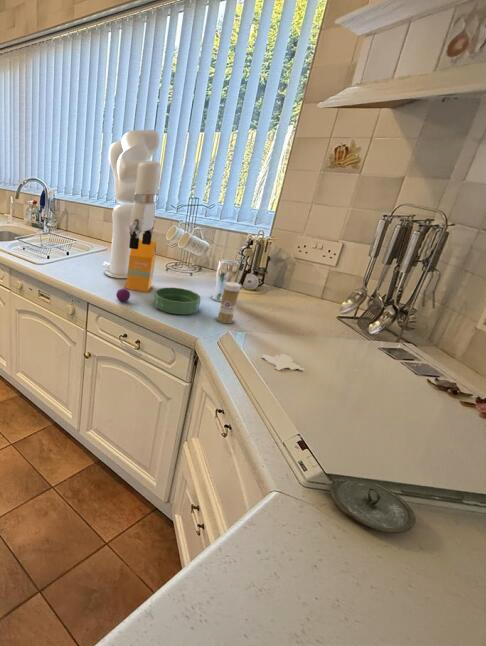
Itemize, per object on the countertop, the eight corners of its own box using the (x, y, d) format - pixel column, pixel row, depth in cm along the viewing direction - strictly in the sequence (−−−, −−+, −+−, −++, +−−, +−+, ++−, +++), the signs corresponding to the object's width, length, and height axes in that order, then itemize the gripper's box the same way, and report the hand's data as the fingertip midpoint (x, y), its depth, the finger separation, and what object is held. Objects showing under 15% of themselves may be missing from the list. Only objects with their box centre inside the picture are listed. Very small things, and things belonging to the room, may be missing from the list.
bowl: (145, 307, 145) (147, 294, 143) (164, 296, 155) (166, 284, 153) (187, 319, 135) (189, 306, 133) (204, 307, 145) (207, 294, 143)
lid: (407, 517, 66) (416, 490, 65) (416, 548, 58) (426, 519, 57) (326, 486, 72) (334, 461, 71) (325, 510, 65) (334, 483, 64)
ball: (113, 301, 152) (114, 289, 150) (120, 297, 155) (121, 285, 153) (124, 304, 148) (126, 292, 146) (131, 301, 151) (133, 288, 149)
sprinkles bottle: (217, 322, 133) (225, 285, 127) (216, 317, 136) (224, 280, 131) (232, 324, 131) (241, 286, 126) (231, 319, 135) (240, 282, 129)
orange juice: (130, 283, 170) (135, 237, 162) (151, 286, 166) (158, 239, 158) (125, 288, 164) (130, 241, 156) (147, 292, 160) (154, 244, 152)
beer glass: (229, 303, 147) (238, 265, 141) (209, 299, 151) (217, 262, 145) (232, 298, 152) (241, 261, 146) (213, 294, 156) (220, 258, 150)
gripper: (146, 196, 148) (141, 241, 154) (123, 200, 136) (118, 248, 142) (166, 197, 143) (160, 244, 149) (144, 201, 131) (138, 252, 137)
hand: (140, 246), depth 146 cm, fingers open, 9 cm apart
